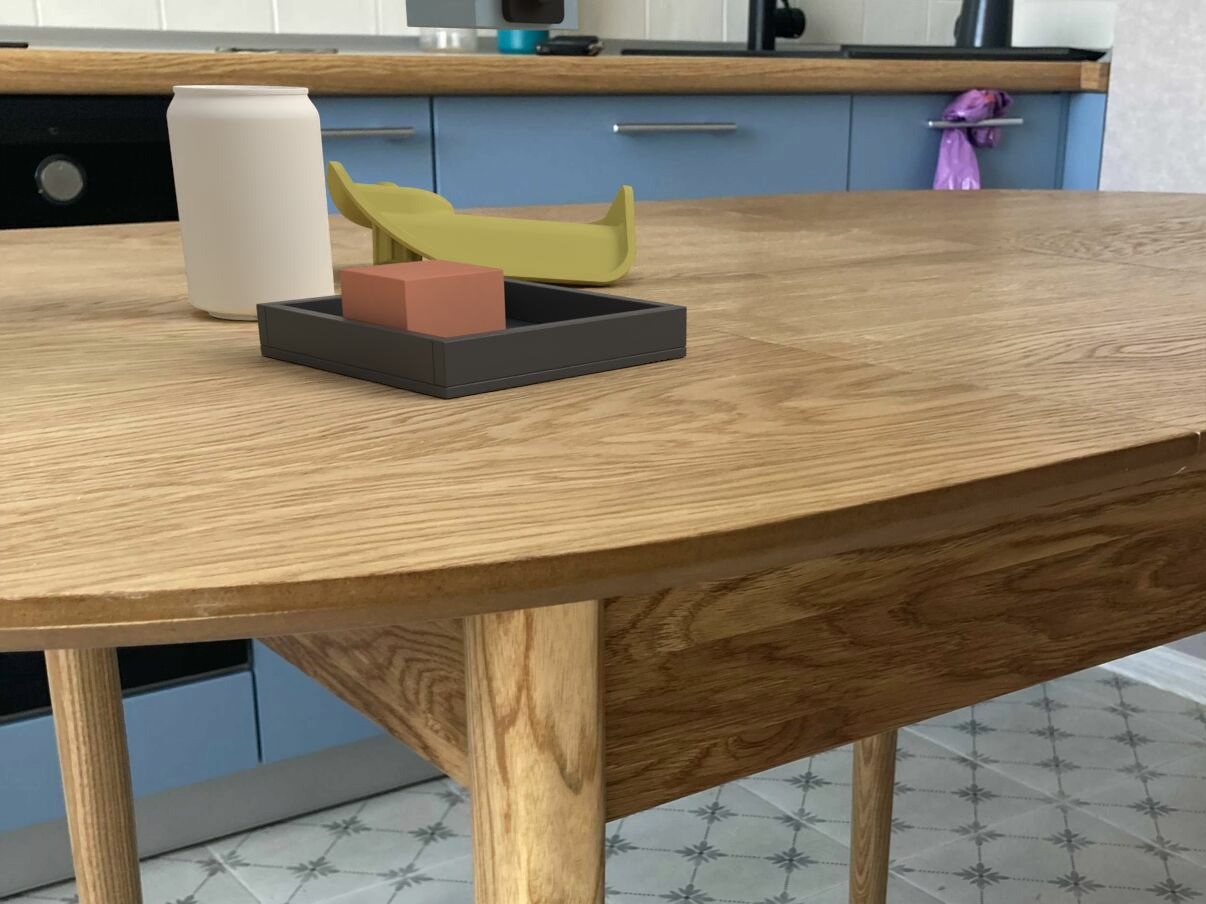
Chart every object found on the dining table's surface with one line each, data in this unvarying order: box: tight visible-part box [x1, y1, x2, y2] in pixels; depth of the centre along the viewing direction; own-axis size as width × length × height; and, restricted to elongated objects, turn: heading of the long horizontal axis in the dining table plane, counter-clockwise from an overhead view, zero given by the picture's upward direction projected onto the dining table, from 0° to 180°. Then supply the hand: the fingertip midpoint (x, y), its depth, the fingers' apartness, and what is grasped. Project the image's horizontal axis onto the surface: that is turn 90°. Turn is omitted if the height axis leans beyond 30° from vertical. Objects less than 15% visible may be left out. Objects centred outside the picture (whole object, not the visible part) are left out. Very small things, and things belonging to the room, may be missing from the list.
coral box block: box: [339, 259, 506, 338], centre depth 75 cm, size 5×6×4 cm
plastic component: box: [325, 160, 638, 287], centre depth 104 cm, size 20×7×10 cm
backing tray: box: [256, 278, 688, 400], centre depth 78 cm, size 15×16×2 cm
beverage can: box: [166, 84, 336, 321], centre depth 87 cm, size 8×8×12 cm
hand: (492, 18), depth 71 cm, fingers closed on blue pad, 5 cm apart
